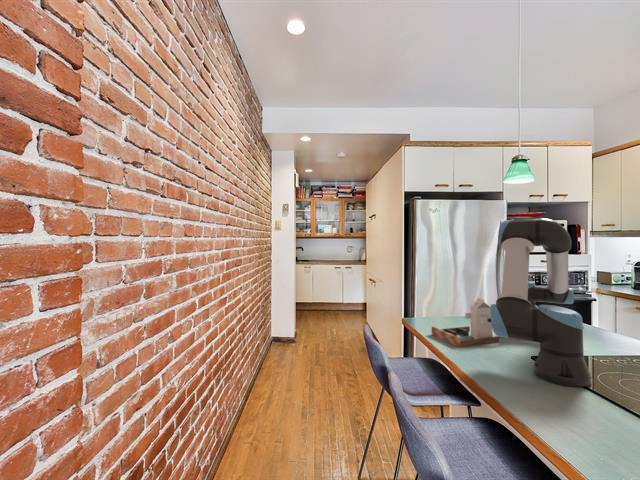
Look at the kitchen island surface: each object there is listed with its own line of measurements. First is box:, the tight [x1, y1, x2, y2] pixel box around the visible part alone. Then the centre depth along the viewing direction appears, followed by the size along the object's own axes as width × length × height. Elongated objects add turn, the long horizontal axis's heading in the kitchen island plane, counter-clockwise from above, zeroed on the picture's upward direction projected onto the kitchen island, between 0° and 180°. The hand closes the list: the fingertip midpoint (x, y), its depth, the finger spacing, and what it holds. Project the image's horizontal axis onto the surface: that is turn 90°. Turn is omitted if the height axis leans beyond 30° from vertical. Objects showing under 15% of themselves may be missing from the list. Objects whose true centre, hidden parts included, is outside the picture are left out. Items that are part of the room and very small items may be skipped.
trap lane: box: [431, 325, 500, 348], centre depth 145 cm, size 19×22×4 cm
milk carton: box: [469, 296, 494, 339], centre depth 145 cm, size 7×7×19 cm
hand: (473, 318), depth 143 cm, fingers closed on milk carton, 9 cm apart
